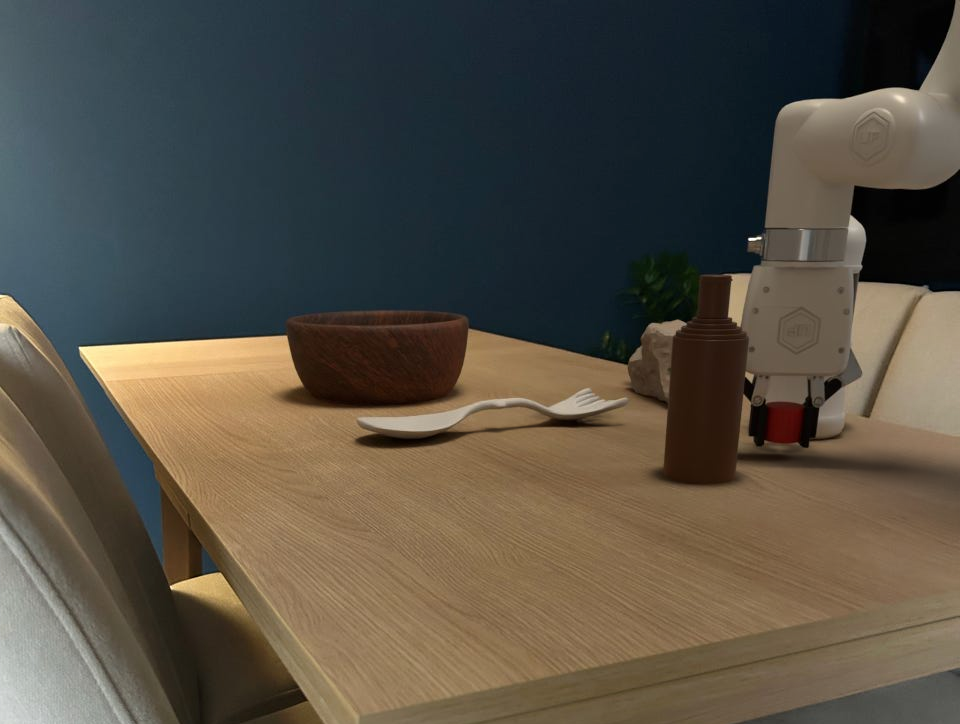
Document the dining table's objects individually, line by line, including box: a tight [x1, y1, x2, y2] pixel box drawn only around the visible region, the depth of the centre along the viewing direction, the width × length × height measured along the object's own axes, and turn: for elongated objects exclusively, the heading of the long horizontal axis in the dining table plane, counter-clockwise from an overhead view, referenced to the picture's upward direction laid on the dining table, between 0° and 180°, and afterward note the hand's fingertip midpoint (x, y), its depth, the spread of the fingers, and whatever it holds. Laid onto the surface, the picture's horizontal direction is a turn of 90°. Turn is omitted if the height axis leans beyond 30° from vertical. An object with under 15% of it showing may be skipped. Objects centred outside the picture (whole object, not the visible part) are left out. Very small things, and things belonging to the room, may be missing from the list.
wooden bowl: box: [284, 309, 470, 405], centre depth 135 cm, size 25×25×10 cm
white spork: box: [356, 387, 629, 440], centre depth 111 cm, size 9×32×4 cm, turn 116°
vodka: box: [765, 214, 867, 440], centre depth 104 cm, size 9×9×30 cm
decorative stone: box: [627, 319, 687, 405], centre depth 130 cm, size 20×8×10 cm, turn 13°
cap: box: [764, 401, 805, 445], centre depth 98 cm, size 4×4×3 cm
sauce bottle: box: [662, 274, 749, 485], centre depth 85 cm, size 6×6×18 cm
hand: (780, 442), depth 98 cm, fingers closed on cap, 3 cm apart
